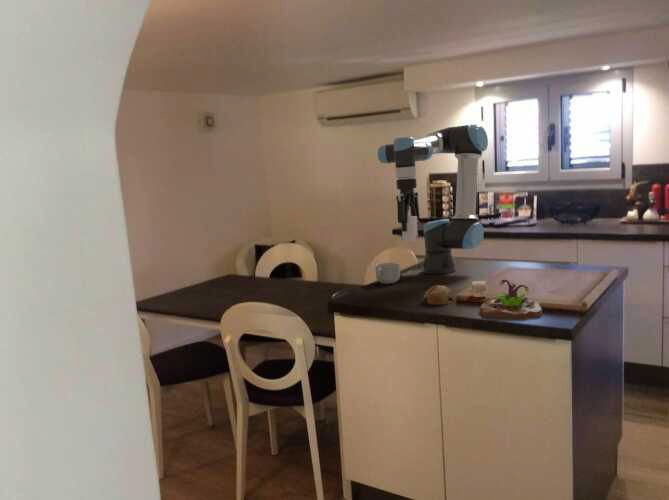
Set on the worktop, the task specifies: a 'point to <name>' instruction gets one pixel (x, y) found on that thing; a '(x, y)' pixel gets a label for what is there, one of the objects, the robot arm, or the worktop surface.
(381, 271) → the teacup
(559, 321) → the worktop surface
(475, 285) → the birch block
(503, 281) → the plant
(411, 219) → the smoothie
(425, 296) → the bread roll
